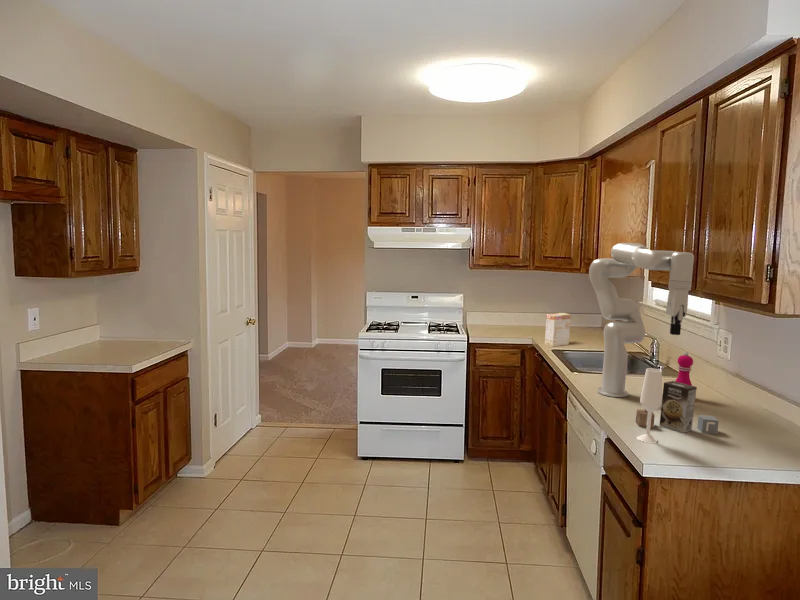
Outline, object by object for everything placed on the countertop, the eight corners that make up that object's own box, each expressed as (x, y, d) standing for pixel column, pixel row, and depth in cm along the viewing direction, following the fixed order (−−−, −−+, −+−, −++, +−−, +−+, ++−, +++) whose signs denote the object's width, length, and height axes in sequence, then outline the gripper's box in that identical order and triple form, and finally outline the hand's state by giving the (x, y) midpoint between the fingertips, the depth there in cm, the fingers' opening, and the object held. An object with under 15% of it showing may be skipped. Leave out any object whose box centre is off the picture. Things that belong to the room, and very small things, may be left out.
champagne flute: (635, 434, 192) (641, 366, 189) (656, 437, 190) (663, 368, 187) (637, 441, 186) (644, 371, 183) (659, 444, 184) (666, 373, 181)
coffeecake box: (560, 342, 356) (562, 312, 353) (569, 344, 350) (571, 314, 347) (543, 344, 348) (546, 313, 345) (552, 346, 342) (554, 315, 339)
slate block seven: (697, 428, 202) (698, 414, 201) (712, 429, 201) (713, 416, 200) (702, 433, 197) (703, 419, 196) (717, 434, 196) (719, 420, 195)
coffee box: (658, 425, 203) (662, 382, 201) (667, 422, 206) (672, 380, 204) (683, 433, 195) (688, 388, 193) (692, 430, 199) (697, 386, 197)
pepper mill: (679, 394, 246) (684, 349, 243) (694, 398, 239) (699, 353, 237) (668, 395, 243) (673, 350, 240) (683, 400, 236) (688, 354, 234)
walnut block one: (635, 422, 206) (637, 406, 205) (649, 423, 205) (651, 407, 204) (638, 426, 201) (640, 410, 200) (653, 428, 200) (655, 411, 199)
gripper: (663, 283, 214) (659, 330, 217) (674, 286, 200) (669, 337, 202) (684, 284, 213) (679, 331, 215) (697, 288, 198) (691, 338, 201)
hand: (674, 334), depth 209 cm, fingers closed
